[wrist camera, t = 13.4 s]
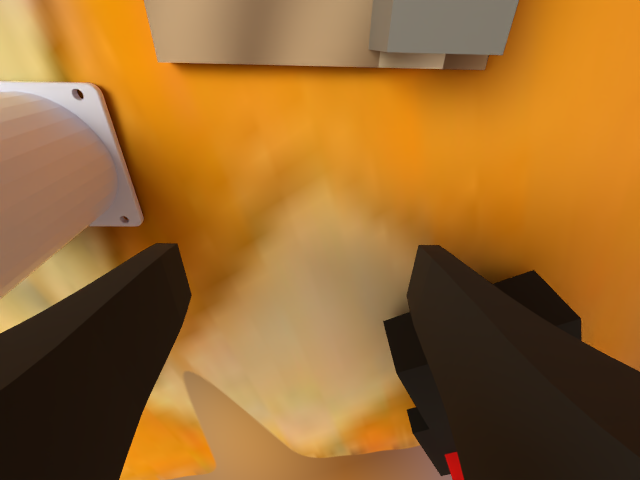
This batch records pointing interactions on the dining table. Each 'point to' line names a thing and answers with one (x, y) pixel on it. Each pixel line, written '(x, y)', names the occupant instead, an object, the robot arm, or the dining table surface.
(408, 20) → the block
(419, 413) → the red-and-black block model
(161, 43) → the subfloor panel
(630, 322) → the dining table surface
